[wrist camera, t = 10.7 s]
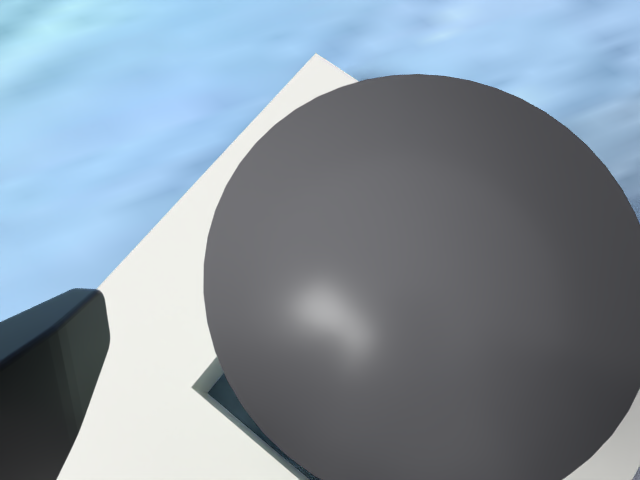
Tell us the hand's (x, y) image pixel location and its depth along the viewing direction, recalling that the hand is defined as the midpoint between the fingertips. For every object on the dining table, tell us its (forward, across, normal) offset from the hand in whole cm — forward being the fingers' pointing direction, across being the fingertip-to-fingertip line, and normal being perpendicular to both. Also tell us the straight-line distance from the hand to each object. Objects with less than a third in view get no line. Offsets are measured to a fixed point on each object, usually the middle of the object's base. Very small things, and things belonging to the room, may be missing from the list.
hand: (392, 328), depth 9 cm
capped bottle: (+7, 0, +7) cm, 10 cm away
